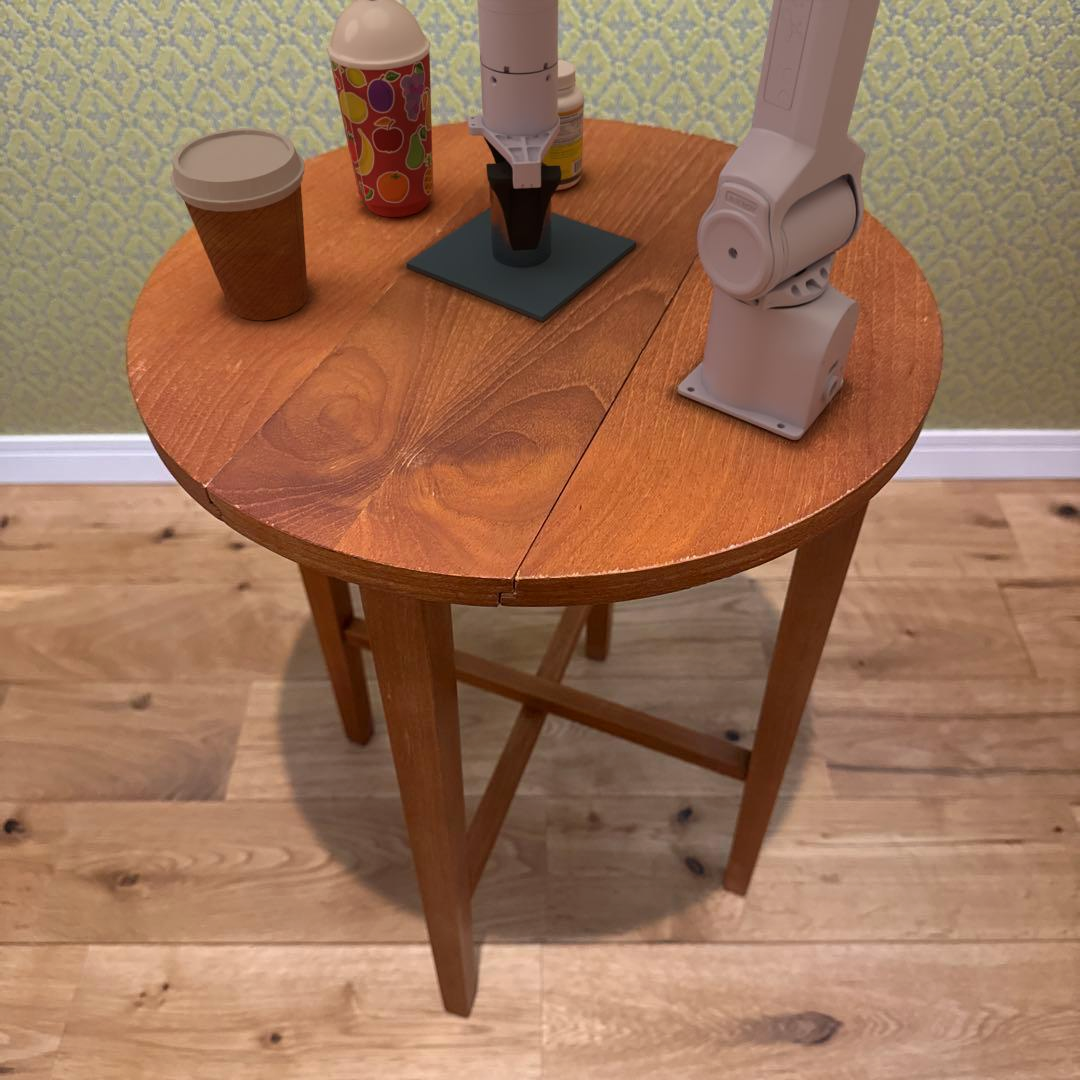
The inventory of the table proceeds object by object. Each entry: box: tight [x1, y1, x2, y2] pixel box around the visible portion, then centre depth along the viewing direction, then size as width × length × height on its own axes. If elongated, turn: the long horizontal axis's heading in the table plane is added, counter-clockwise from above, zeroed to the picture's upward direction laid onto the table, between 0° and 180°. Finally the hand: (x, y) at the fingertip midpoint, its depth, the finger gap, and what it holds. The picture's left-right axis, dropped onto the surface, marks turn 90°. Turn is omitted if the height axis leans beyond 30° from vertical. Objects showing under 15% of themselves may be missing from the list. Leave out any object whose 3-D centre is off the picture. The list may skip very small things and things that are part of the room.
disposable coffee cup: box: [170, 127, 309, 321], centre depth 74 cm, size 10×10×12 cm
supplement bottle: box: [542, 59, 585, 191], centre depth 88 cm, size 6×6×10 cm
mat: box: [405, 207, 637, 323], centre depth 82 cm, size 14×14×1 cm
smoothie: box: [326, 0, 434, 218], centre depth 82 cm, size 8×8×20 cm
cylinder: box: [488, 160, 552, 267], centre depth 80 cm, size 5×5×7 cm
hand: (522, 230), depth 81 cm, fingers closed on cylinder, 5 cm apart
